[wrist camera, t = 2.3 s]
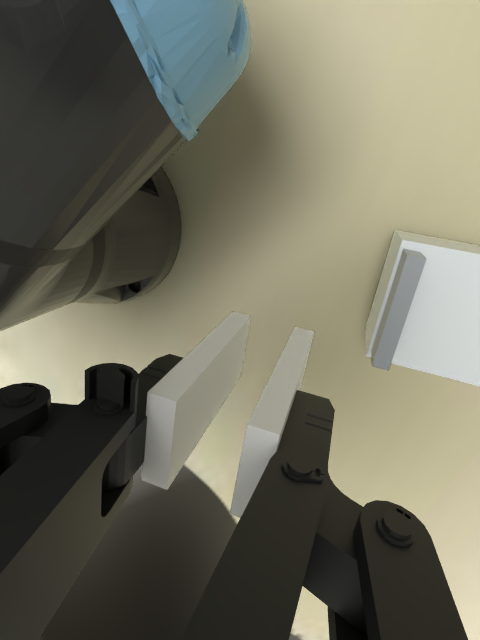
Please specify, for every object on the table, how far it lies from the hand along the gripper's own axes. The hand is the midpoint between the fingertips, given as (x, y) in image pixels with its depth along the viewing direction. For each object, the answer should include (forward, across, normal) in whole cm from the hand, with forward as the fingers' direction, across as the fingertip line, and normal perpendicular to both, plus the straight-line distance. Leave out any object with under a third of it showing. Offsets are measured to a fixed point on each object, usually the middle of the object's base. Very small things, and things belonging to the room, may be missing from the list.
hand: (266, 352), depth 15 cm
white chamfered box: (+18, +10, 0) cm, 21 cm away
